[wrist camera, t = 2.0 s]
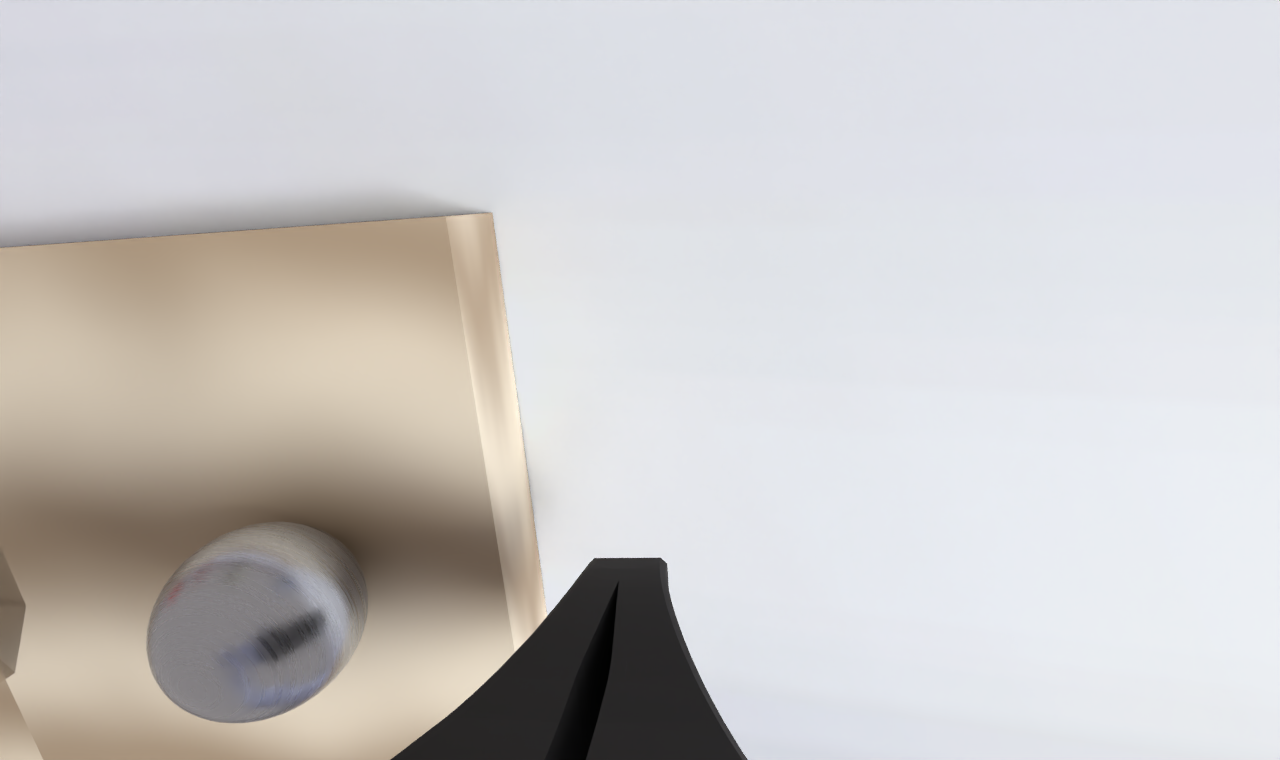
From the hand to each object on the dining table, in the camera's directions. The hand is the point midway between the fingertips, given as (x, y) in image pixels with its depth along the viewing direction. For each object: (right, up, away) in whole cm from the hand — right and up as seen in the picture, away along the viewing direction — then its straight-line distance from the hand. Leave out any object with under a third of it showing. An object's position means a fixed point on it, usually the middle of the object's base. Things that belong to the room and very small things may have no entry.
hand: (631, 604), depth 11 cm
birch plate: (-14, +1, +5) cm, 14 cm away
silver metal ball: (-7, 0, 0) cm, 7 cm away
